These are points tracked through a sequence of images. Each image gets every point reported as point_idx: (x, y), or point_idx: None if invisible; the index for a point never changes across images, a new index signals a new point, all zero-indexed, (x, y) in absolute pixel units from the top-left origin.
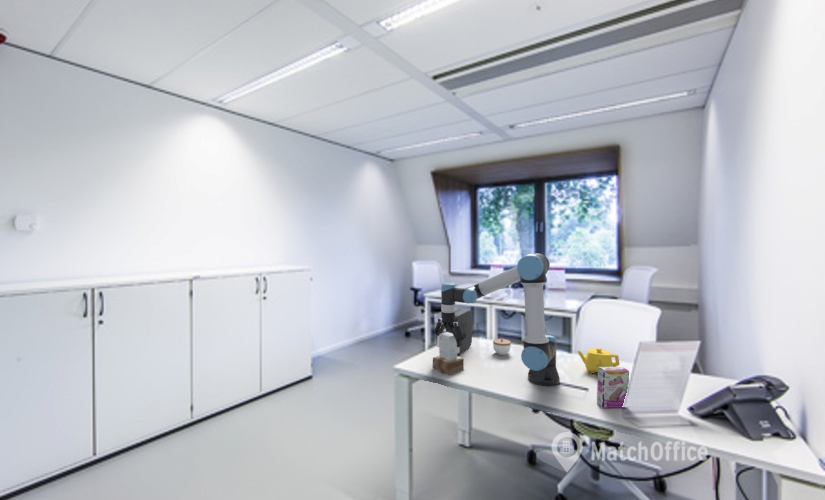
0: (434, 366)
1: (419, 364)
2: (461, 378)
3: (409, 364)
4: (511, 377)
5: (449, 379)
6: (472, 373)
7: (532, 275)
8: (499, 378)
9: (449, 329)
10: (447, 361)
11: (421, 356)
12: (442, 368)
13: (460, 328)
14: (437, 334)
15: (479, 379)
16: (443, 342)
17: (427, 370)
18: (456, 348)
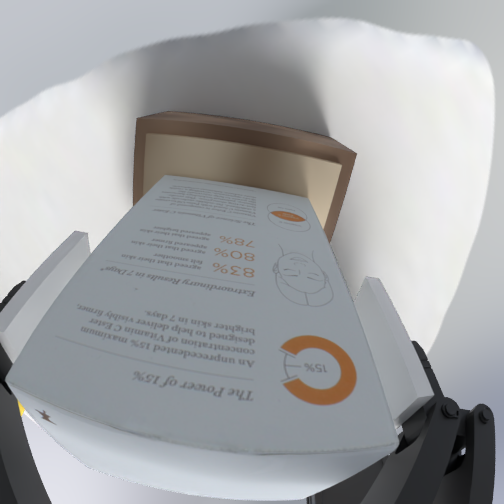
0: (317, 135)
1: (436, 155)
2: (84, 131)
3: (475, 126)
4: (11, 288)
5: (122, 63)
6: (93, 232)
7: None
8: (14, 257)
9: (367, 480)
10: (165, 144)
11: (461, 267)
12: (224, 118)
13: (311, 497)
14: (438, 414)
15: (33, 192)
16: (238, 295)
17: (341, 86)
18: (45, 267)
